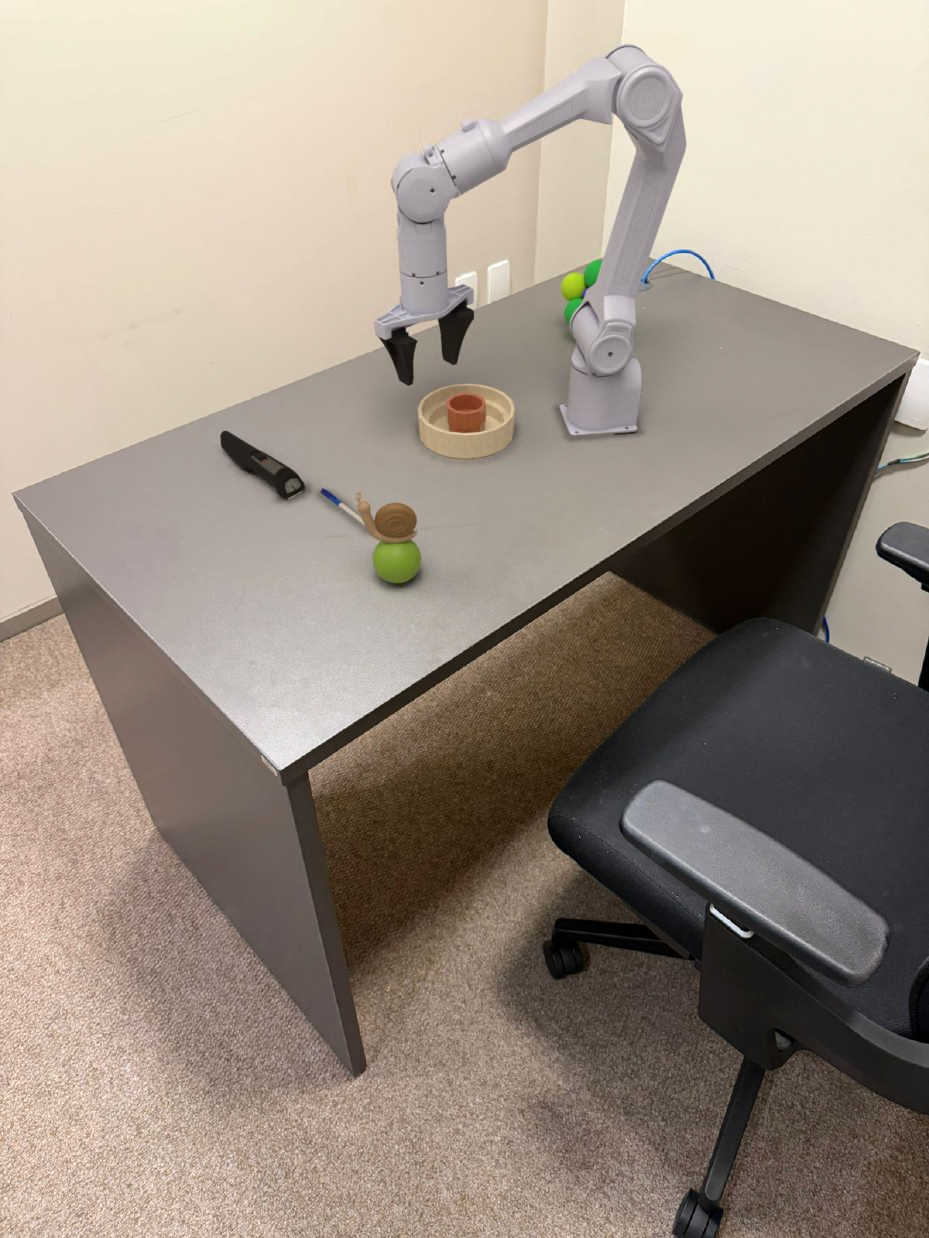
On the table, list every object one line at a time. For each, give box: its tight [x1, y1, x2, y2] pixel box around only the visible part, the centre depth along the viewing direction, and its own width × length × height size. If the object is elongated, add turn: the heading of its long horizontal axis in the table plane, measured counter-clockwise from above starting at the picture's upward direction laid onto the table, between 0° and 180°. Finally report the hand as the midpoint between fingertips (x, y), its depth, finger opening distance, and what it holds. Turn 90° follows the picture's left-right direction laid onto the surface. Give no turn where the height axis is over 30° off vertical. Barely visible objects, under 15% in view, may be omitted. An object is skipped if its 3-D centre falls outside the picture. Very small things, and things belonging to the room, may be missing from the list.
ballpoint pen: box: [320, 488, 365, 526], centre depth 107 cm, size 10×1×1 cm, turn 44°
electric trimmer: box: [219, 430, 306, 500], centre depth 112 cm, size 4×16×3 cm, turn 45°
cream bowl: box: [417, 383, 516, 460], centre depth 118 cm, size 13×13×4 cm
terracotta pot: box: [446, 393, 486, 433], centre depth 117 cm, size 5×5×4 cm
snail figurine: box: [355, 490, 422, 584], centre depth 94 cm, size 5×6×12 cm
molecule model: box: [560, 259, 603, 326], centre depth 135 cm, size 9×9×9 cm
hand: (428, 372), depth 112 cm, fingers open, 7 cm apart
